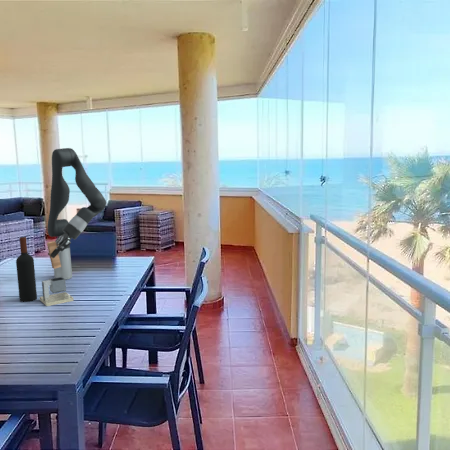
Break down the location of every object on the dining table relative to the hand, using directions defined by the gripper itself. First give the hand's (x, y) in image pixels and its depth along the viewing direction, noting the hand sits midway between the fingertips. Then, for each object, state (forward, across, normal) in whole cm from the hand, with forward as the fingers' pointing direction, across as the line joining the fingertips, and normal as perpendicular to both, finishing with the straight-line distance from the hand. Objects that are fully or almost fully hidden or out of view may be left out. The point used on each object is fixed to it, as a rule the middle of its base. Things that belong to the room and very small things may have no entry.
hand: (50, 256), depth 197 cm
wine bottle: (+22, -10, +9) cm, 25 cm away
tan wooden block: (+2, 0, +6) cm, 6 cm away
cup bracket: (+14, 0, +16) cm, 21 cm away
